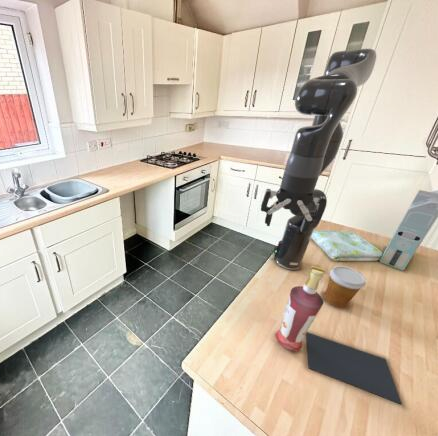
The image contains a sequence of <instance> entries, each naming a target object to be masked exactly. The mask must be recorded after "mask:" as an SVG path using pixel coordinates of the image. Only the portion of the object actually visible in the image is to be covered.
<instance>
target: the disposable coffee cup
mask: <svg viewBox="0 0 438 436" xmlns="http://www.w3.org/2000/svg"><path fill="white" fill-rule="evenodd" d="M365 286H366V279H365V277H364V275H363V274H361V273H360V272H359V271H357V270H355V269H354V268H351V267H348V266H342V265H337V266H334V267H333V268H331V269H330V270H329V278H328V282H327V286H326V290H325V294H324V299H325V301H326V302H327V303H328V304H330V306H331V305H332V306H333V307H336V308H340V309H342V308H346V307H347V305H348V304H349V303H350V302H351V301H352V299H354V297H355V296H356V295H357V293H358V292H360V291H361V289H363V288H365Z"/></svg>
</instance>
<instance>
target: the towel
mask: <svg viewBox="0 0 438 436" xmlns="http://www.w3.org/2000/svg"><path fill="white" fill-rule="evenodd" d="M310 239H312V240H313V242H314V243H315V244H316V245H317V246H318V247H319V248H320V249H321V250H323V252H324V253H325V254H326V255H327V256H328V257H329V258H330V259H331V260H332V261H334V262H376V261H379V260H380V258H381V257H382V255H383V252H382V251H381V250H380V249H379V248H377V247H376V246H375V245H373V244H372V243H370V241H368V240H366V239H365V238H363V237H361V236H360V235H358V234H357V233H354V232H352V231H336V230H313V233H312V236H311V238H310Z"/></svg>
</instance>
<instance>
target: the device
mask: <svg viewBox="0 0 438 436" xmlns="http://www.w3.org/2000/svg"><path fill="white" fill-rule="evenodd" d="M437 219H438V190H432V191H427V190H422V189H418V191H417V193H416V195H415V196H414V198H413V200H412V202H411V204H410V205H409V207H408V208H407V210H406V212H405V213H404V216H403V217H402V219H401V221H400V223H399V224H398V226H397V228H396V230H395V232H394V233H393V235H392V237H391V239H390V240H389V243H388V244H387V246H386V248H385V250H384V252H382V254H383V255H382V256H380V257H379V260H378V262H379V263H381V264H383V265H386V266H388V267H392V268H394V269H396V270H399V271H402V272H404V271H405V269H406V268H407V266H408V264H409V263H410V262H411V260H412V258H413V256H414V255H415V253H416V252H417V250H418V249H419V247H420V246H421V244H422V243H423V241H424V239H425V238H426V236H427V235H428V233H429V231H430V230H431V229H432V227H433V225H434V224H435V222H436V220H437Z"/></svg>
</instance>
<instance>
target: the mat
mask: <svg viewBox="0 0 438 436" xmlns="http://www.w3.org/2000/svg"><path fill="white" fill-rule="evenodd" d="M305 339H306V340H305V341H306V351H307V352H306V353H307V366H308V369H309V370H312V371H314V372H317V373H320V374H323V375H325V376H327V377H329V378H332V379H335V380H337V381H340V382H342V383H344V384H348V385H350V386H353V387H355V388H357V389H360V390H363V391H366V392H368V393H370V394H373V395H376V396H378V397H381V398H384V399H386V400H388V401H390V402H394V403H396V404H398V405H402V404H403V403H402V401H401V398H400V395H399V392H398V390H397V386H396V384H395V380H394V378H393V376H392V372H391V370H390V367H389V364H388V361H387V359H386V358H385V357H381V356H379V355H376V354H373V353H369V352H367V351H363V350H360V349H357V348H355V347H352V346H348V345H346V344H343V343H340V342H337V341H333V340H331V339H329V338H325V337H322V336H319V335H316V334H314V333H311V332H309V331H307V333H306V335H305Z"/></svg>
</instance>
